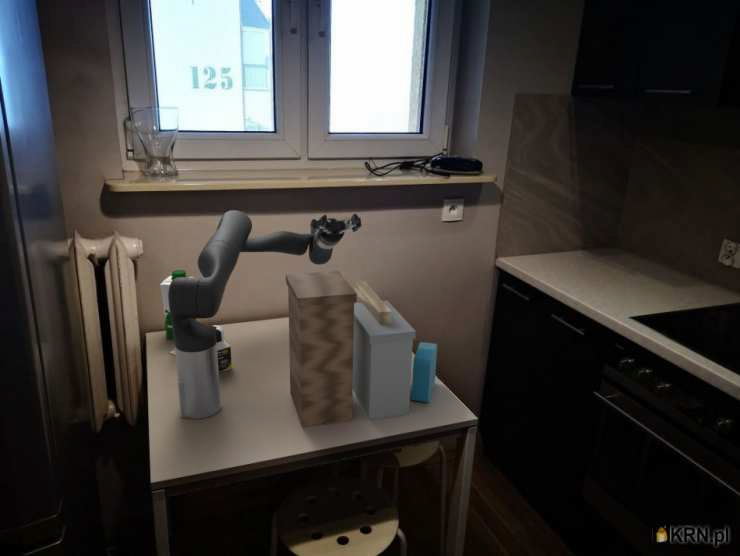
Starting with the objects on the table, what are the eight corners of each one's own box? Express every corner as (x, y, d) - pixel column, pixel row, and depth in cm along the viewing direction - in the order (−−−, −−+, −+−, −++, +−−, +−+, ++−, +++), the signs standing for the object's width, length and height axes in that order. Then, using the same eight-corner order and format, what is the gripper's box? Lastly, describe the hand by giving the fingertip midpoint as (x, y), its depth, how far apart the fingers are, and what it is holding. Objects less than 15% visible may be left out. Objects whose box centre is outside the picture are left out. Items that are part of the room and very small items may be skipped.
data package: (418, 380, 152) (420, 339, 149) (434, 382, 151) (437, 342, 148) (410, 402, 141) (413, 359, 138) (428, 405, 140) (431, 362, 137)
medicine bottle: (207, 376, 151) (204, 335, 147) (197, 366, 156) (193, 326, 153) (232, 368, 156) (230, 329, 152) (220, 359, 161) (218, 320, 157)
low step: (367, 420, 133) (370, 335, 126) (345, 379, 151) (346, 303, 144) (410, 414, 136) (415, 331, 129) (384, 375, 155) (387, 300, 148)
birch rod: (379, 324, 132) (379, 312, 131) (354, 292, 152) (354, 282, 151) (391, 322, 133) (391, 311, 132) (364, 292, 153) (365, 281, 152)
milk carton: (200, 329, 180) (195, 270, 174) (190, 341, 172) (185, 279, 165) (173, 328, 180) (167, 269, 174) (162, 340, 172) (155, 278, 166)
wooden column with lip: (299, 428, 129) (297, 298, 119) (288, 392, 144) (285, 274, 134) (354, 420, 133) (356, 293, 123) (337, 386, 148) (338, 271, 138)
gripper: (353, 245, 171) (367, 229, 156) (307, 247, 167) (316, 231, 152) (350, 221, 173) (363, 203, 157) (304, 223, 169) (313, 205, 153)
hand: (340, 217), depth 155 cm, fingers open, 8 cm apart
